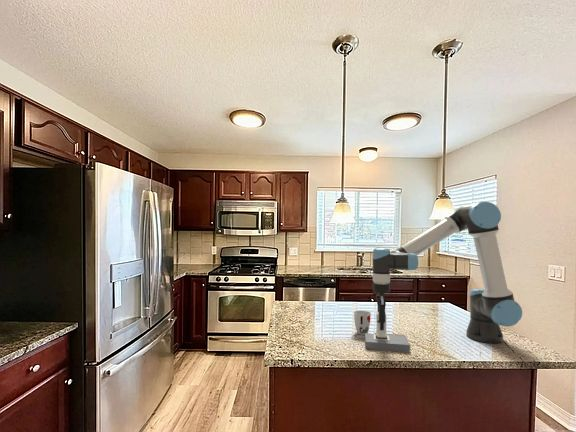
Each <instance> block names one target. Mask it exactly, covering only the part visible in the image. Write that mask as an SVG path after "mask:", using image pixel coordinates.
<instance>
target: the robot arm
mask: <svg viewBox="0 0 576 432" xmlns="http://www.w3.org/2000/svg"><path fill="white" fill-rule="evenodd" d="M501 218H502V213H501V210H500V208H499V207H498V206H497V205H495V204H494V203H493V202H489V201H484V200H483V201H475V202H470V203H464V205H463V204H462V205H461V206H459V207H458V208H456V209H455V210H453V211H452V212H451V213H449V214H447V215H445V217H444V220H442V221H440V222H439V223H437V224H435V225H434V226H433V227H431V228H429V229H428V230H426V231H424V232H422V233H421V234H419V235H417V236H416V237H415V238H413V239H411V240H410V241H407V243H405V244H403V245H401V246H400V247H398V248H397V249H395V250H390V248H386V247H385V248H381V247H380V248H377V247H376V248H374V249H373V250H372V274H371V277H372V282H373V283H372V291H373V292H374V293H377V294H376V304H377V312H379V321H377V322H378V337H383V338H385V313H386V306H387V304H386V301H387V296H386V295H385V293H386V294H388V293H390V292H391V284H390V283H391V271H392V270H393V271H394V270H395V271H397V270H398V271H401V270H402V271H416V270H417V269H418V268H419V257H418V256H419V255H420V254H422V253H424V252H426V251H427V250H429V249H430V248H432V247H434V246H435V245H437V244H438V243H440V242H442V241H444V240H445V239H446V238H448V237H450V236H451V235H453V234H459V233H460V232H463V231H464V230H467V232H468V235H469V236H472V237H473V241H474V247H475V250H476V255H477V260H478V263H479V270H480V273H481V277H482V283H483V289H482V288H481V289H480V288H477V289H475V288H473V289H471V290H470V291H469V314H470V315H469V317H470V319H469V322H468V325H467V327H466V337H467V338H469V339H471V340H473V341H477V342H481V343H486V344H487V343H488V344H500V343H503V342H504V335H503V331H502V329H501V326H503V327H505V328H506V327H508V328H509V327H513V326H515V325H517V324H518V323H519V321H521V319H522V317H523V308H522V307H521V305H520V304H519V302H517V301H515V298H514V293H513V291H512V290H510V289H509V288H508V285H507V281H506V276H505V271H504V267H503V263H502V257H501V253H500V248H499V244H498V239H497V233H498V231H500V229H499V223H500V222H501V220H502V219H501Z"/></svg>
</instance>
